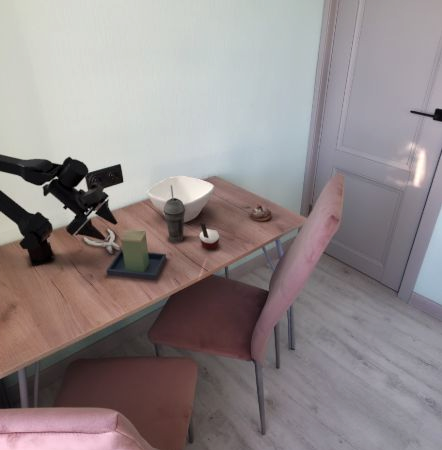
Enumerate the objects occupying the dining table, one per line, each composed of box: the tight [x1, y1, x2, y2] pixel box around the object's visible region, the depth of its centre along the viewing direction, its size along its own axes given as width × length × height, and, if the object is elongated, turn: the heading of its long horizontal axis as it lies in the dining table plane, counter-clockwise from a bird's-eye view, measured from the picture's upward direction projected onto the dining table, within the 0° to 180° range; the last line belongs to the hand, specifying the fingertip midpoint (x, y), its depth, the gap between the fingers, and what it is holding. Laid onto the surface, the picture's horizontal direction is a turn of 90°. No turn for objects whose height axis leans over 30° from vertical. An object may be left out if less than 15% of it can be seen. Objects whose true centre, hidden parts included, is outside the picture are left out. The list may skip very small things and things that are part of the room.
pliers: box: [83, 228, 121, 254], centre depth 139 cm, size 10×2×15 cm
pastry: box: [250, 204, 272, 222], centre depth 154 cm, size 8×8×5 cm
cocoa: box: [199, 222, 220, 250], centre depth 133 cm, size 10×6×12 cm, turn 135°
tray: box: [106, 249, 167, 281], centre depth 126 cm, size 11×15×2 cm
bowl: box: [146, 175, 215, 223], centre depth 153 cm, size 22×22×12 cm
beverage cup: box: [163, 185, 185, 243], centre depth 136 cm, size 7×7×20 cm
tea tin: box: [119, 229, 149, 272], centre depth 123 cm, size 5×6×12 cm
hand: (110, 231), depth 121 cm, fingers open, 9 cm apart
